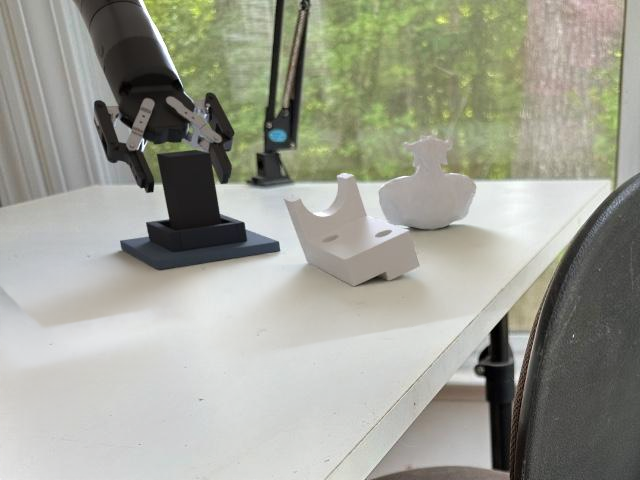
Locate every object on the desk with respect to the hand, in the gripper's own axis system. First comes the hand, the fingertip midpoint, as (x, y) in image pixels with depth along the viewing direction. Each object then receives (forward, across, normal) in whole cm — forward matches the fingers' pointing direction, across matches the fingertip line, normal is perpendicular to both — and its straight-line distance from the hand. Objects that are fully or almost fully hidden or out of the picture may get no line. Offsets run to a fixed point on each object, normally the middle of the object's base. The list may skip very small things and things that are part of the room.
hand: (188, 183), depth 99 cm
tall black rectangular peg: (+4, 0, -5) cm, 6 cm away
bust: (+10, -27, 0) cm, 28 cm away
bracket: (+20, -9, +10) cm, 24 cm away
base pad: (+5, 0, -5) cm, 7 cm away
